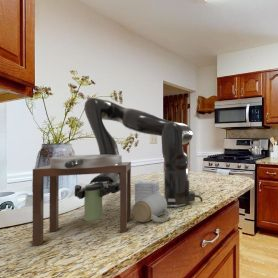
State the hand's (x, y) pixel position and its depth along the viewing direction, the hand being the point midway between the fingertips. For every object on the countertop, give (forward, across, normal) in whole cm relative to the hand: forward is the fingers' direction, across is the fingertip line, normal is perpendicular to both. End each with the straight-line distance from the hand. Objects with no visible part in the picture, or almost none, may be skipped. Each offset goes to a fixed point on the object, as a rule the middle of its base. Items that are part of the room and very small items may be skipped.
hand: (91, 194), depth 61 cm
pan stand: (+6, 0, +10) cm, 11 cm away
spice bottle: (-3, 0, +8) cm, 8 cm away
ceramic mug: (0, +17, +10) cm, 20 cm away
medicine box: (-19, +14, +10) cm, 25 cm away
